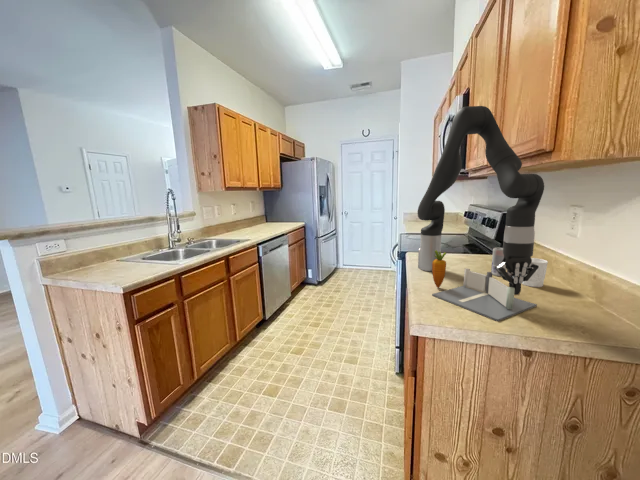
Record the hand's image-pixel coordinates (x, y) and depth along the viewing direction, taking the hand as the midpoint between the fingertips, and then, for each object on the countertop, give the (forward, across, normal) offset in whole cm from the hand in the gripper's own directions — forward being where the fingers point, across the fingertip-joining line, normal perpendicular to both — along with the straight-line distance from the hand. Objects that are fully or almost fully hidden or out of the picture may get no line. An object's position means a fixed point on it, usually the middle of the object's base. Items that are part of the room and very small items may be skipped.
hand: (514, 293), depth 84 cm
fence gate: (+4, +2, -3) cm, 5 cm away
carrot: (+4, +14, -20) cm, 25 cm away
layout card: (+4, +6, -6) cm, 10 cm away
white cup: (+5, -23, -19) cm, 30 cm away
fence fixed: (+4, +2, -15) cm, 16 cm away
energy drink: (+5, -19, -33) cm, 38 cm away
